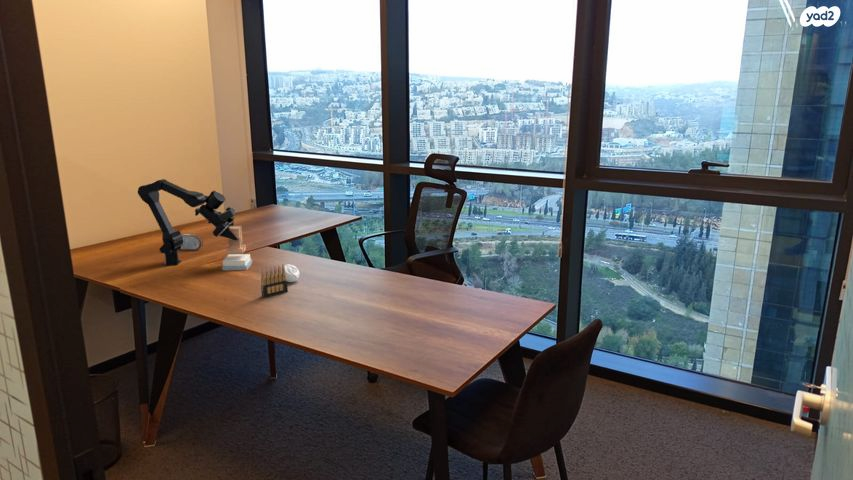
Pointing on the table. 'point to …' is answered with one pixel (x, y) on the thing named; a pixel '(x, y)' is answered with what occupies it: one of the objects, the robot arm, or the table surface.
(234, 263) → the white square slab
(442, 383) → the table surface
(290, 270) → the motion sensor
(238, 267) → the tower base
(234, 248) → the pillar
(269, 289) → the ammunition clip
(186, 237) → the tin
